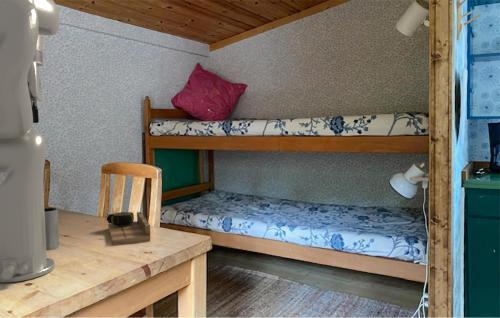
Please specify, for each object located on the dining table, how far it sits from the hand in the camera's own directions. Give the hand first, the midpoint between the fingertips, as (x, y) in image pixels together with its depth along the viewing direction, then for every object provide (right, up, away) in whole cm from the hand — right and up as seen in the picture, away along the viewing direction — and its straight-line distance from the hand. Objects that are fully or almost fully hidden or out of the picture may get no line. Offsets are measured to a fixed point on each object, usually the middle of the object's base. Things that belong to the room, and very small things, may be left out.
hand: (29, 122), depth 101 cm
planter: (+7, -34, -2) cm, 34 cm away
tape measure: (+19, -31, +15) cm, 39 cm away
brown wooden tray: (+23, -33, +10) cm, 41 cm away
